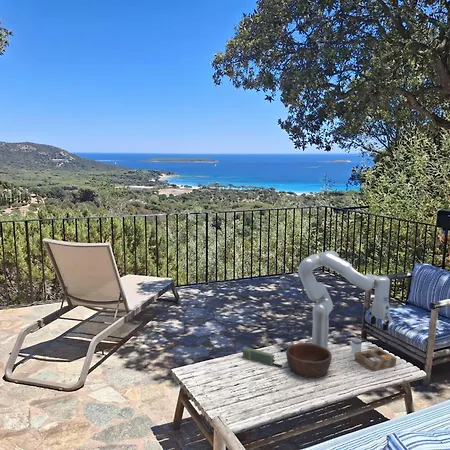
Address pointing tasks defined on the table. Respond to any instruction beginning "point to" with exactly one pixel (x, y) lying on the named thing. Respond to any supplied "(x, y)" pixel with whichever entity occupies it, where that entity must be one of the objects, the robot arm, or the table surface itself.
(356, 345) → the plug
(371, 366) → the socket block
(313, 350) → the wooden bowl
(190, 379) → the table surface
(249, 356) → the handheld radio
